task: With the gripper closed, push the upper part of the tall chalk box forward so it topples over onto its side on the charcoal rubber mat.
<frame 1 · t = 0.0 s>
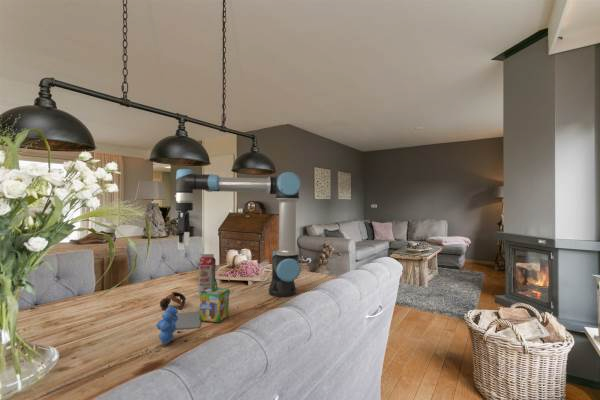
hand: (183, 247, 136), 28 cm above the table, tool pointing down, fingers open, 13 cm apart
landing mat: (183, 320, 120), on the table
chalk box: (214, 318, 122), on the table, touching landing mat
brown ring: (171, 309, 134), on the table
juice carton: (206, 296, 153), on the table
grapes: (165, 342, 102), on the table
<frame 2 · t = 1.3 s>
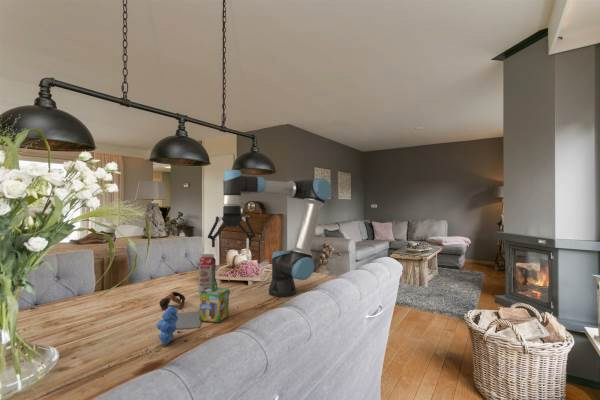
hand: (231, 254, 127), 27 cm above the table, tool pointing down, fingers open, 13 cm apart
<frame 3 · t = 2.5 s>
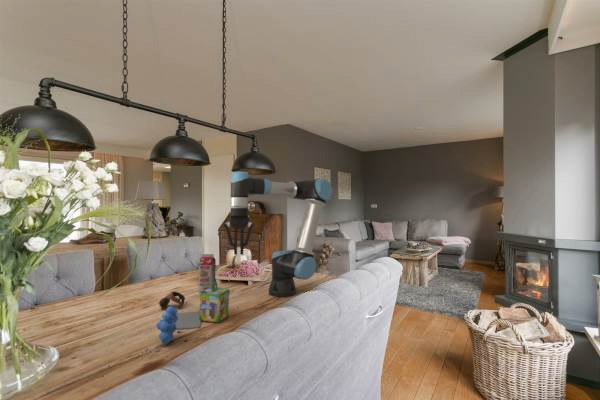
hand: (238, 262, 125), 23 cm above the table, tool pointing down, fingers closed
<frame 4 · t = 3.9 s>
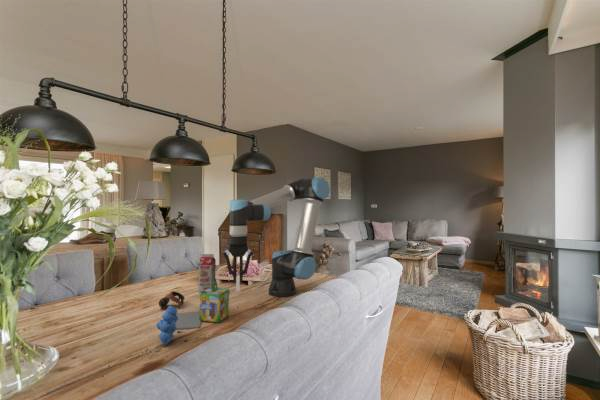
hand: (237, 290, 125), 11 cm above the table, tool pointing down, fingers closed
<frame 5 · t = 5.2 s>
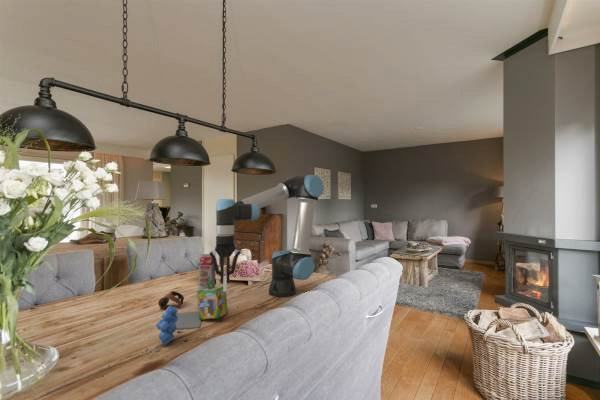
hand: (224, 290, 123), 12 cm above the table, tool pointing down, fingers closed
chalk box: (214, 316, 123), point 1 cm above the table, touching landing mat
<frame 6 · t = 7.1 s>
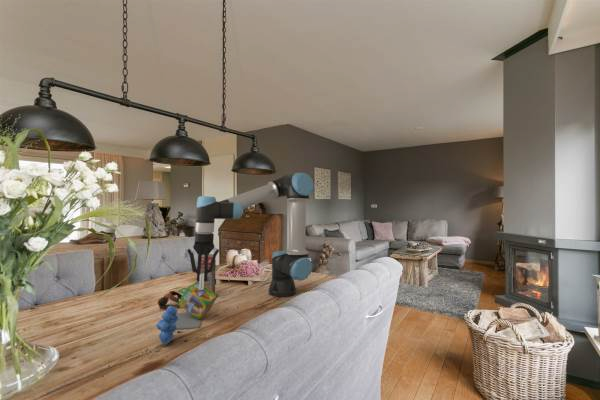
hand: (201, 288, 122), 13 cm above the table, tool pointing down, fingers closed
chalk box: (209, 308, 123), point 4 cm above the table, touching gripper, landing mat
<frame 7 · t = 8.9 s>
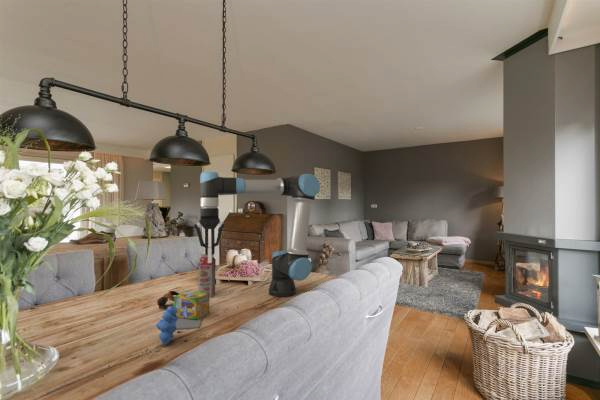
hand: (209, 262, 125), 23 cm above the table, tool pointing down, fingers closed
chalk box: (204, 306, 123), point 5 cm above the table, touching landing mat
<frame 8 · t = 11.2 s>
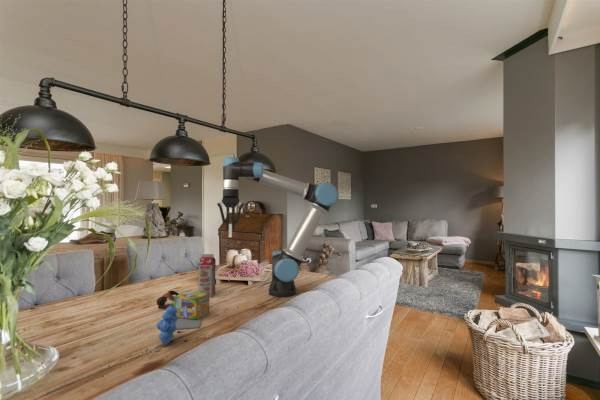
hand: (230, 237, 142), 32 cm above the table, tool pointing down, fingers closed
at the end: chalk box tilted 90°; chalk box touching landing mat; chalk box inside the target area (6.5 cm from its centre), point 5.0 cm above the table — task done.
